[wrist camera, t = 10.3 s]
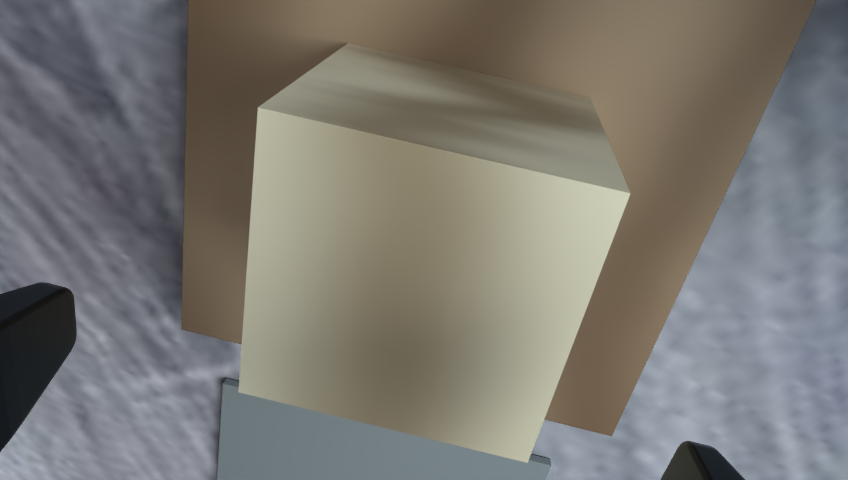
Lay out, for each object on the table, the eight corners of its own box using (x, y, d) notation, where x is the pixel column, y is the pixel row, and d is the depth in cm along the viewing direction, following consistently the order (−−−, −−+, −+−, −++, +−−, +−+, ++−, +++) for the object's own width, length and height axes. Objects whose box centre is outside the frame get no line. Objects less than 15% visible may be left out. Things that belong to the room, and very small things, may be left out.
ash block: (590, 98, 15) (630, 193, 10) (524, 302, 18) (527, 462, 13) (348, 42, 15) (258, 107, 10) (320, 253, 18) (238, 392, 13)
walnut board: (807, -48, 14) (837, -45, 13) (605, 403, 21) (611, 436, 20) (221, -181, 15) (192, -191, 13) (202, 304, 21) (181, 329, 20)
